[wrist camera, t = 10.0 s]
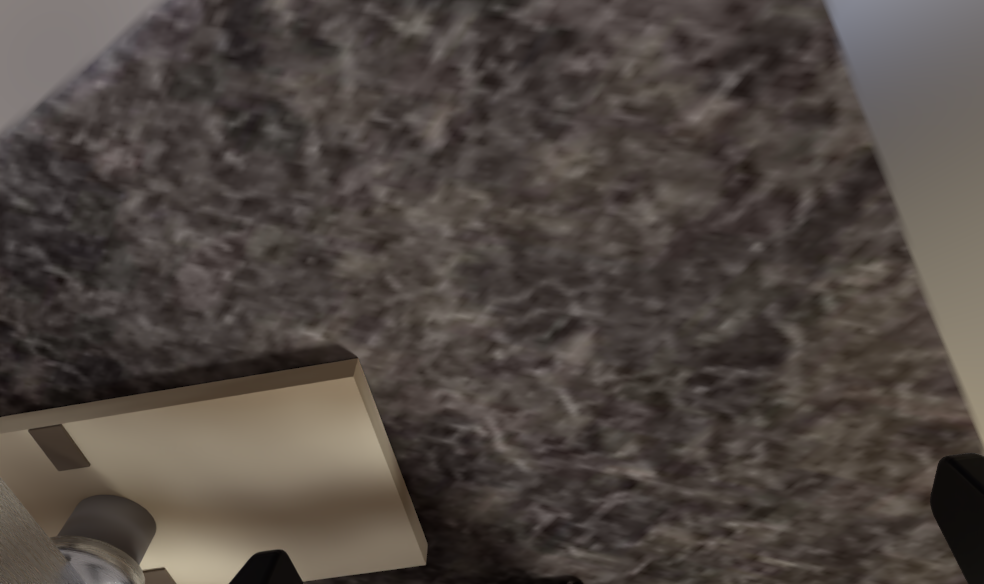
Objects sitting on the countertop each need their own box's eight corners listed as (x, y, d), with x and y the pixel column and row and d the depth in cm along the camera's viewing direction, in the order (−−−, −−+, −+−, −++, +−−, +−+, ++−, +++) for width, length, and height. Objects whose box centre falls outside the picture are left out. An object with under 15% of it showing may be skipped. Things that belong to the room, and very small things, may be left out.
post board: (427, 543, 28) (422, 610, 25) (-48, 609, 30) (-98, 677, 27) (358, 358, 22) (342, 418, 20) (-212, 451, 24) (-294, 517, 22)
